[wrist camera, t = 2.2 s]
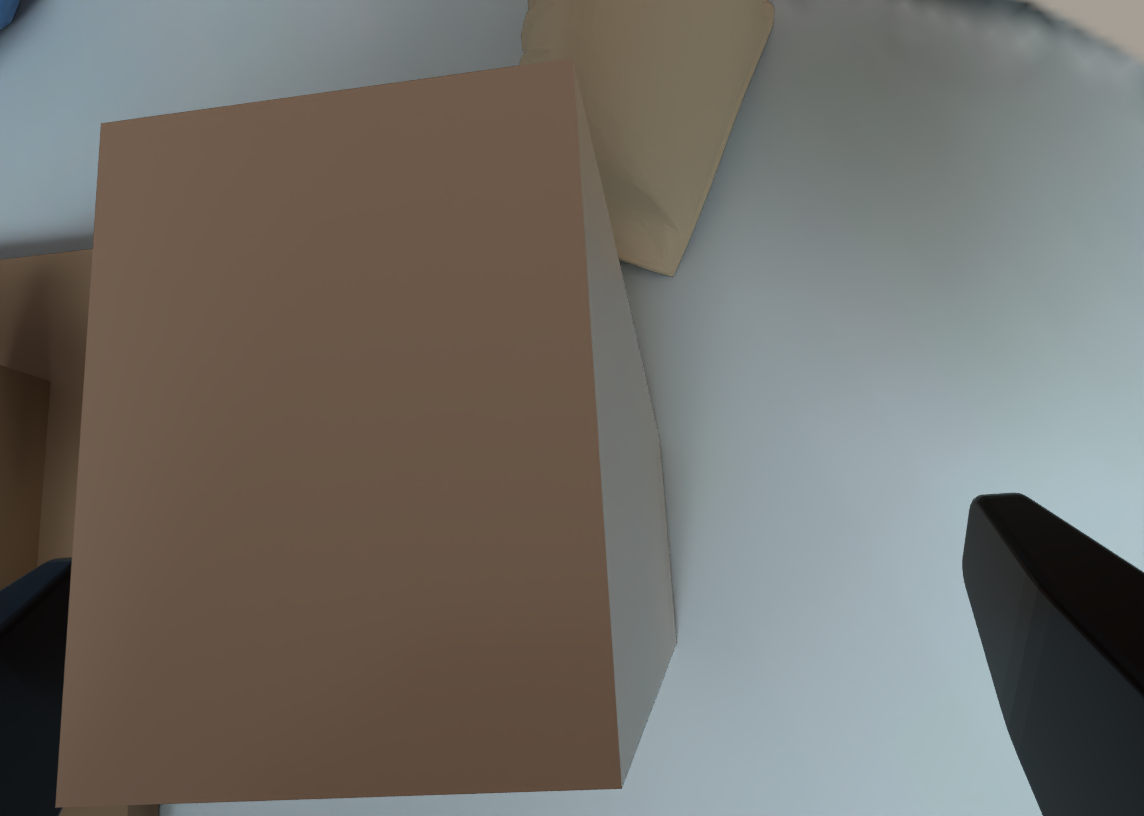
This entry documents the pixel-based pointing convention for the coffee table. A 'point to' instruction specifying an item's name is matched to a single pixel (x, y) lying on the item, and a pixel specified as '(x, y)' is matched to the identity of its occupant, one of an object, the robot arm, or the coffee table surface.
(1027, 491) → the coffee table surface
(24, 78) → the coffee table surface
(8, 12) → the grapes
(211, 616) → the brown rectangular box
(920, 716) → the coffee table surface
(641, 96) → the decorative ornament
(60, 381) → the walnut rack
